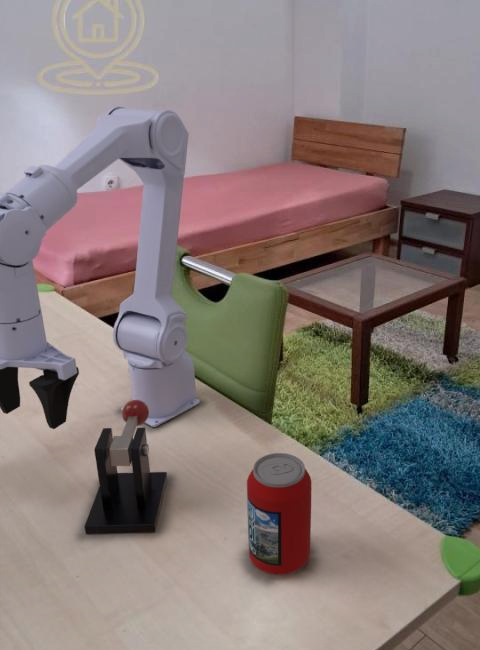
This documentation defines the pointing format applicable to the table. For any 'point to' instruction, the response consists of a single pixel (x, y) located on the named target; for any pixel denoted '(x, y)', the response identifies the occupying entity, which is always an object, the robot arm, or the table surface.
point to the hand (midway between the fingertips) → (34, 416)
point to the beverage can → (279, 513)
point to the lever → (128, 432)
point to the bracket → (126, 490)
